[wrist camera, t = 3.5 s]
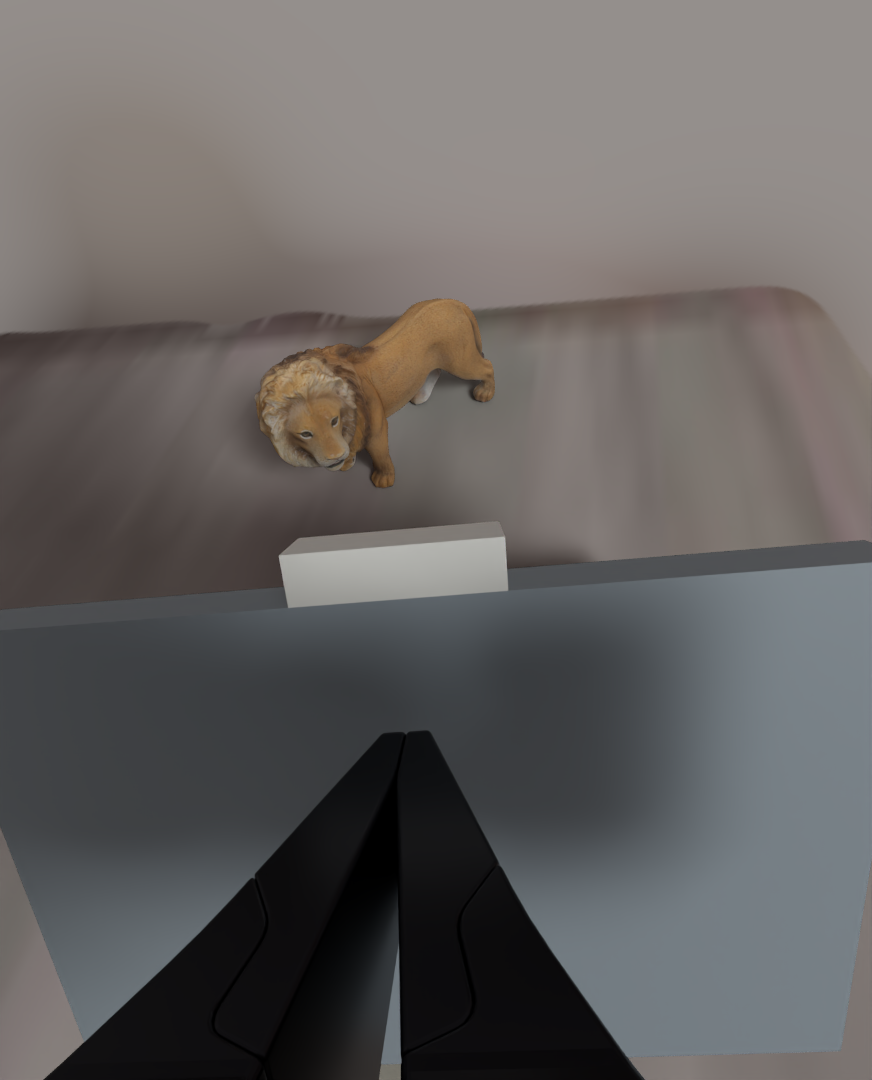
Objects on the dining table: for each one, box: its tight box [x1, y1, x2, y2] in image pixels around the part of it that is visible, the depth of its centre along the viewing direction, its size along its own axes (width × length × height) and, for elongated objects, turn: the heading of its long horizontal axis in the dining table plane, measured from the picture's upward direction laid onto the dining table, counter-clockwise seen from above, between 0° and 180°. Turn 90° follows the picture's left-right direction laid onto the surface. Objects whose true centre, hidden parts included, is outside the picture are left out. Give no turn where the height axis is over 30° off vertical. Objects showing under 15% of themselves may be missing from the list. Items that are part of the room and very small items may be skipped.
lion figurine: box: [255, 299, 495, 488], centre depth 25 cm, size 15×5×9 cm, turn 144°
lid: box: [0, 521, 872, 1064], centre depth 11 cm, size 13×18×1 cm
